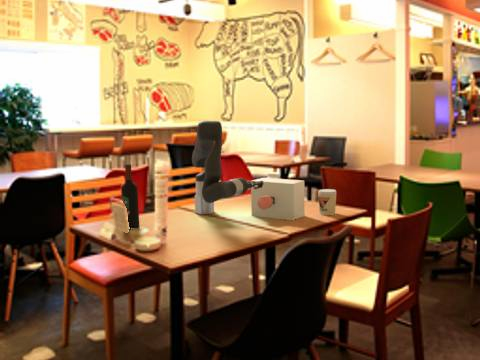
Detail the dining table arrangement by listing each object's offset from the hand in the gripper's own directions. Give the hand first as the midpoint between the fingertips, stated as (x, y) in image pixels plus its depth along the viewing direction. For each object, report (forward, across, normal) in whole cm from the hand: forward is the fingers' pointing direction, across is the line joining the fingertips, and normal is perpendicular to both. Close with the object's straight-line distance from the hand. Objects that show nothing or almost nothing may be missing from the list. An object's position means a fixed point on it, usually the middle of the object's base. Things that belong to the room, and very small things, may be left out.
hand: (254, 182), depth 260 cm
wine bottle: (-32, +49, +20) cm, 62 cm away
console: (+22, 0, +20) cm, 30 cm away
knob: (+12, 0, +14) cm, 19 cm away
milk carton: (+36, +10, +20) cm, 43 cm away
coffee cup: (+38, -20, +20) cm, 47 cm away
